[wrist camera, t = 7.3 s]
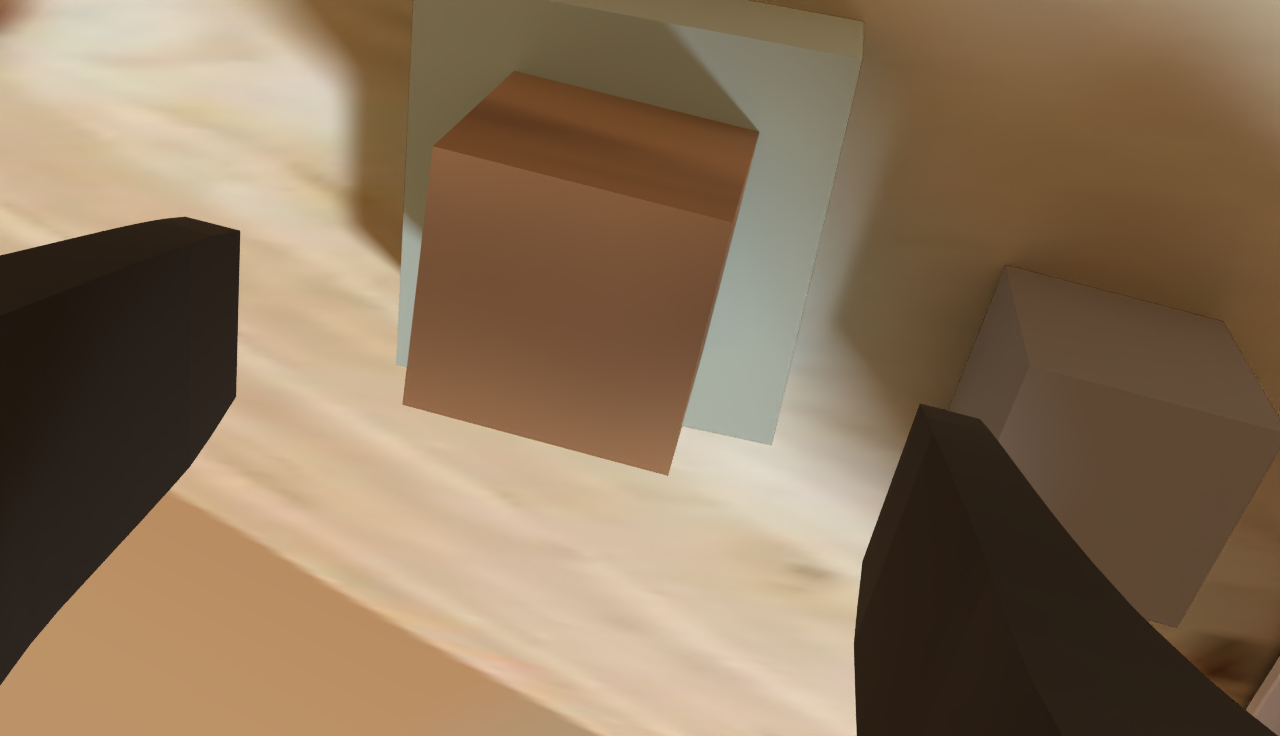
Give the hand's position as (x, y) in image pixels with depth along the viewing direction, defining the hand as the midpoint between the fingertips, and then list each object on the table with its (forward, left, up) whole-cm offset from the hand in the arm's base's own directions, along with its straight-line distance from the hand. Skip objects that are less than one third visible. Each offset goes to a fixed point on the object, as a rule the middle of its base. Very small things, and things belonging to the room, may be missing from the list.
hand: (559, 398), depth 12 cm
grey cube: (-3, -8, -10) cm, 14 cm away
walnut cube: (-1, +1, -8) cm, 8 cm away
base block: (-1, +1, -11) cm, 11 cm away
